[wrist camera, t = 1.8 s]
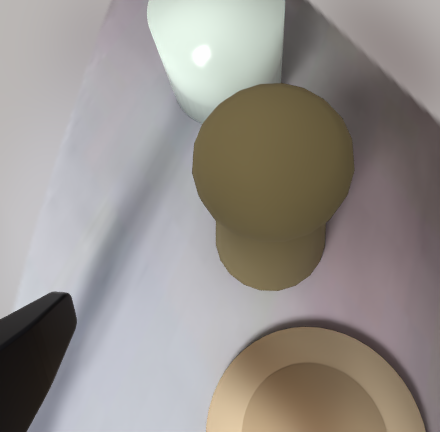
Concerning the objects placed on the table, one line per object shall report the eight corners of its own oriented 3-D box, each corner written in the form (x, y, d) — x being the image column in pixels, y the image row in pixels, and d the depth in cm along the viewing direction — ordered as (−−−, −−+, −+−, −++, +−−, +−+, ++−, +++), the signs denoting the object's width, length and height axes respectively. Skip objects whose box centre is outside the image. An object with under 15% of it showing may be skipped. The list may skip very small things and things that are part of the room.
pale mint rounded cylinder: (228, 148, 23) (216, 87, 18) (152, 87, 26) (119, 14, 20) (304, 73, 24) (315, -8, 19) (224, 20, 27) (213, -67, 21)
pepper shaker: (291, 169, 22) (313, 21, 12) (346, 260, 21) (427, 177, 10) (198, 213, 22) (138, 102, 12) (244, 310, 20) (220, 277, 10)
